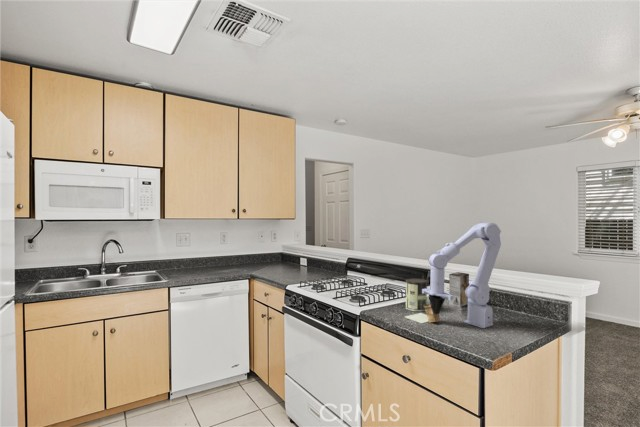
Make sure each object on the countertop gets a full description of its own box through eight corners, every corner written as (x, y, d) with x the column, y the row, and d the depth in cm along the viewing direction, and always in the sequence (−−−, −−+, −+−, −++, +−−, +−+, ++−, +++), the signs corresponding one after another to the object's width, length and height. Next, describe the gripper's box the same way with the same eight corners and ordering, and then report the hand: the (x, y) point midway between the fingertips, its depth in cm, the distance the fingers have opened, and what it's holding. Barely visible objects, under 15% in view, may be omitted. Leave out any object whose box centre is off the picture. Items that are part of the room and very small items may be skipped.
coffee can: (425, 306, 174) (426, 278, 174) (427, 312, 164) (428, 283, 164) (404, 305, 176) (405, 277, 176) (405, 310, 166) (406, 281, 166)
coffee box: (457, 301, 183) (457, 271, 183) (468, 304, 179) (469, 273, 178) (448, 304, 177) (449, 273, 177) (460, 307, 173) (461, 275, 172)
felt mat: (438, 319, 154) (438, 318, 154) (422, 323, 147) (422, 322, 147) (420, 313, 162) (420, 312, 162) (404, 317, 156) (404, 316, 156)
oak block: (440, 320, 148) (435, 303, 150) (435, 321, 146) (430, 305, 148) (434, 321, 151) (429, 305, 153) (429, 322, 149) (424, 306, 151)
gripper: (417, 279, 151) (417, 310, 151) (446, 286, 139) (445, 319, 140) (428, 278, 155) (427, 308, 155) (456, 284, 143) (455, 316, 143)
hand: (436, 313), depth 148 cm, fingers closed
